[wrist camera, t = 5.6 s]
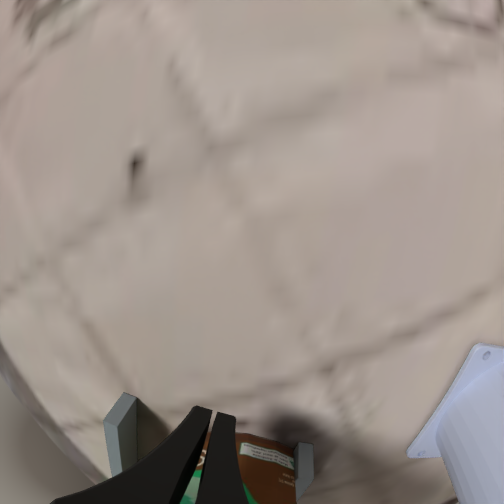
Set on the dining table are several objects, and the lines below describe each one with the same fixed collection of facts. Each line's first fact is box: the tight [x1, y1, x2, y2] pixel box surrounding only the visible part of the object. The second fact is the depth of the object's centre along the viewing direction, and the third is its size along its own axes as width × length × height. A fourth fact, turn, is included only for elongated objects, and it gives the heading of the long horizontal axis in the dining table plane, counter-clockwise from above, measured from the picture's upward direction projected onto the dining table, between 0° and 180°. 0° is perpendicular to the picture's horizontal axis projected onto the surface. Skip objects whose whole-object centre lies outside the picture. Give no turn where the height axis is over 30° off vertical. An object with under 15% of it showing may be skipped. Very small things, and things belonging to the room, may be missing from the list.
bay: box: [103, 392, 314, 502], centre depth 15 cm, size 11×14×2 cm
